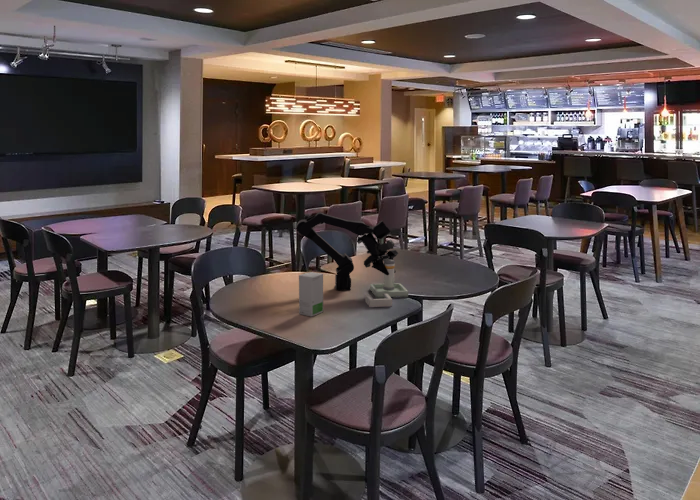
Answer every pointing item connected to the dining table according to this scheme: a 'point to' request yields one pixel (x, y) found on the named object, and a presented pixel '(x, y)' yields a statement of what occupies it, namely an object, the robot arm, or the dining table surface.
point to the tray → (398, 290)
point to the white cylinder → (389, 278)
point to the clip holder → (378, 301)
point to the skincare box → (310, 294)
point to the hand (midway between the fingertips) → (391, 273)
